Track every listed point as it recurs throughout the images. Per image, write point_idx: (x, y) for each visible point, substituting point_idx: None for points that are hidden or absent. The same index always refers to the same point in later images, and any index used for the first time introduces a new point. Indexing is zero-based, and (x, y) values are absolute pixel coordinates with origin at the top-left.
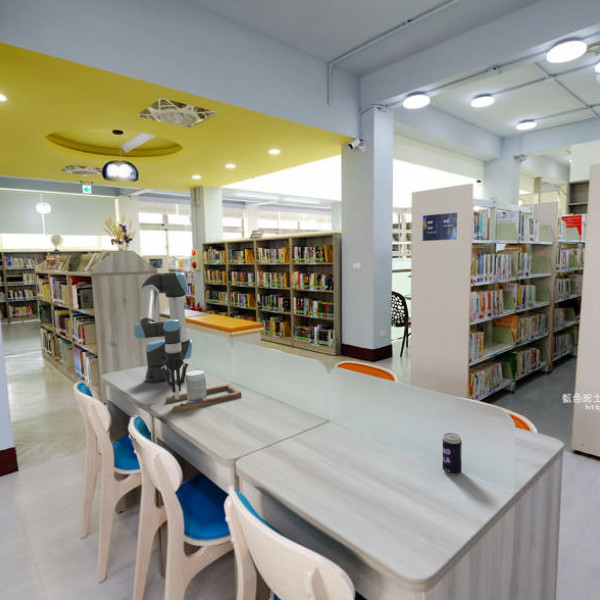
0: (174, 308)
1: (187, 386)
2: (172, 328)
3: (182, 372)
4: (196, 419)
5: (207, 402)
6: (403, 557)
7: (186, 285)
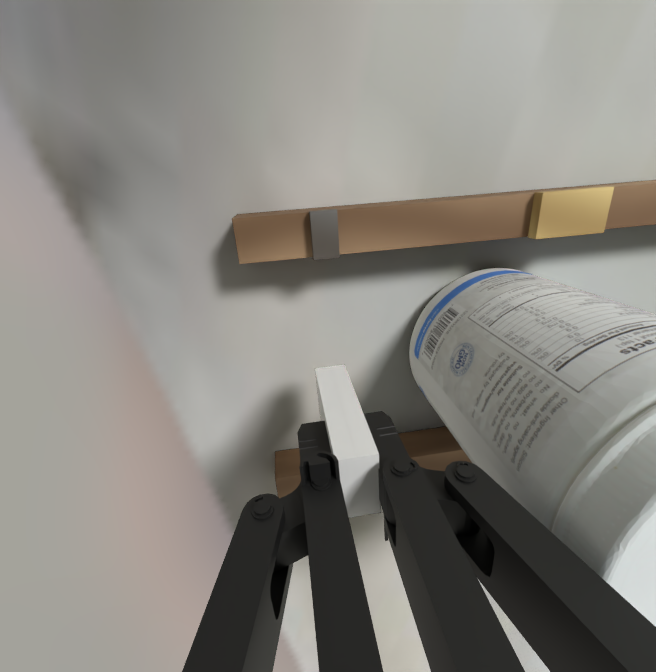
0: None
1: (478, 462)
2: None
3: (589, 668)
4: (370, 588)
5: None
6: None
7: None
